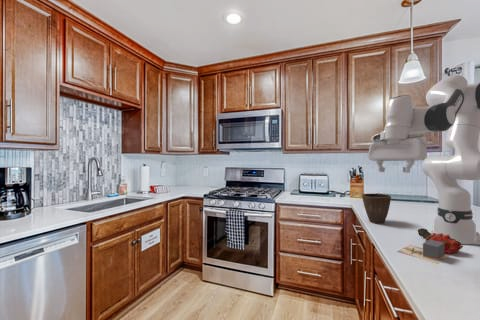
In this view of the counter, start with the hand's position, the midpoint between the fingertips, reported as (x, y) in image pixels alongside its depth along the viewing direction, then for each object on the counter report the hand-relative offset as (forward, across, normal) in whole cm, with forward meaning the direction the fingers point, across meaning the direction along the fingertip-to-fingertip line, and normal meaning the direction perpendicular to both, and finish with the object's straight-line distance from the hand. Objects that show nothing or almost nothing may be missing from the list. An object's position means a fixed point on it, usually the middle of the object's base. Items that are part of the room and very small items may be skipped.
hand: (393, 172), depth 89 cm
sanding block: (+29, -6, -18) cm, 35 cm away
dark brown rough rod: (+27, +3, -36) cm, 45 cm away
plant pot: (+24, +38, -46) cm, 65 cm away
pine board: (+30, -3, -18) cm, 35 cm away
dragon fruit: (+28, -5, -28) cm, 40 cm away
